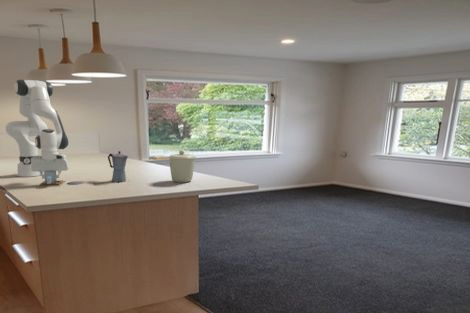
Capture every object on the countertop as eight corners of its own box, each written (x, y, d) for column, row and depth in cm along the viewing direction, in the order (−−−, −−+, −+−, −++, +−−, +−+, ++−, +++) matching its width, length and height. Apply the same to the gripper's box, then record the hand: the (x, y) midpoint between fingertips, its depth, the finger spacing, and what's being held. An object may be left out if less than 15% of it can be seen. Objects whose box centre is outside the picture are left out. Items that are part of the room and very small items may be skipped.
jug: (45, 183, 204) (44, 170, 203) (57, 182, 206) (56, 169, 205) (43, 187, 192) (42, 174, 191) (55, 186, 194) (54, 173, 193)
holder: (43, 183, 209) (43, 180, 209) (66, 182, 213) (65, 179, 213) (35, 188, 193) (35, 185, 193) (60, 187, 197) (59, 184, 196)
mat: (69, 183, 210) (68, 181, 210) (85, 182, 212) (85, 180, 212) (65, 186, 200) (65, 184, 200) (83, 185, 203) (83, 184, 203)
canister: (181, 177, 232) (181, 148, 229) (201, 180, 222) (201, 150, 219) (162, 181, 217) (162, 150, 215) (182, 185, 207) (181, 152, 204)
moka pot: (125, 182, 212) (124, 152, 210) (103, 181, 215) (102, 151, 213) (132, 180, 222) (131, 150, 219) (112, 179, 225) (111, 150, 222)
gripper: (28, 156, 195) (30, 179, 197) (66, 156, 201) (67, 178, 202) (32, 155, 201) (33, 177, 203) (68, 155, 207) (69, 176, 208)
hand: (50, 178), depth 202 cm, fingers closed on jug, 6 cm apart
